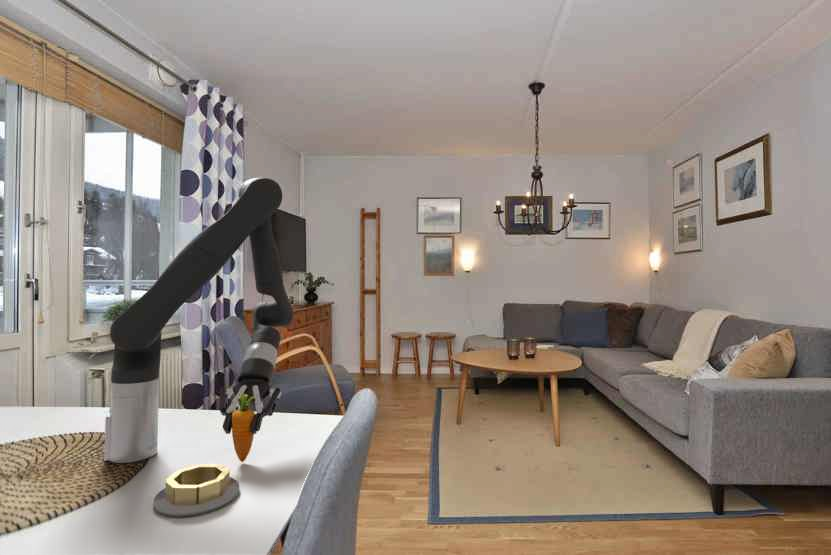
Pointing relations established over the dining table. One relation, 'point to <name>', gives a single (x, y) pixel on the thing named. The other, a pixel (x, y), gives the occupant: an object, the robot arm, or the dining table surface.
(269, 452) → the dining table surface
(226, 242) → the robot arm
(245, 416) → the carrot
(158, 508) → the hub socket
